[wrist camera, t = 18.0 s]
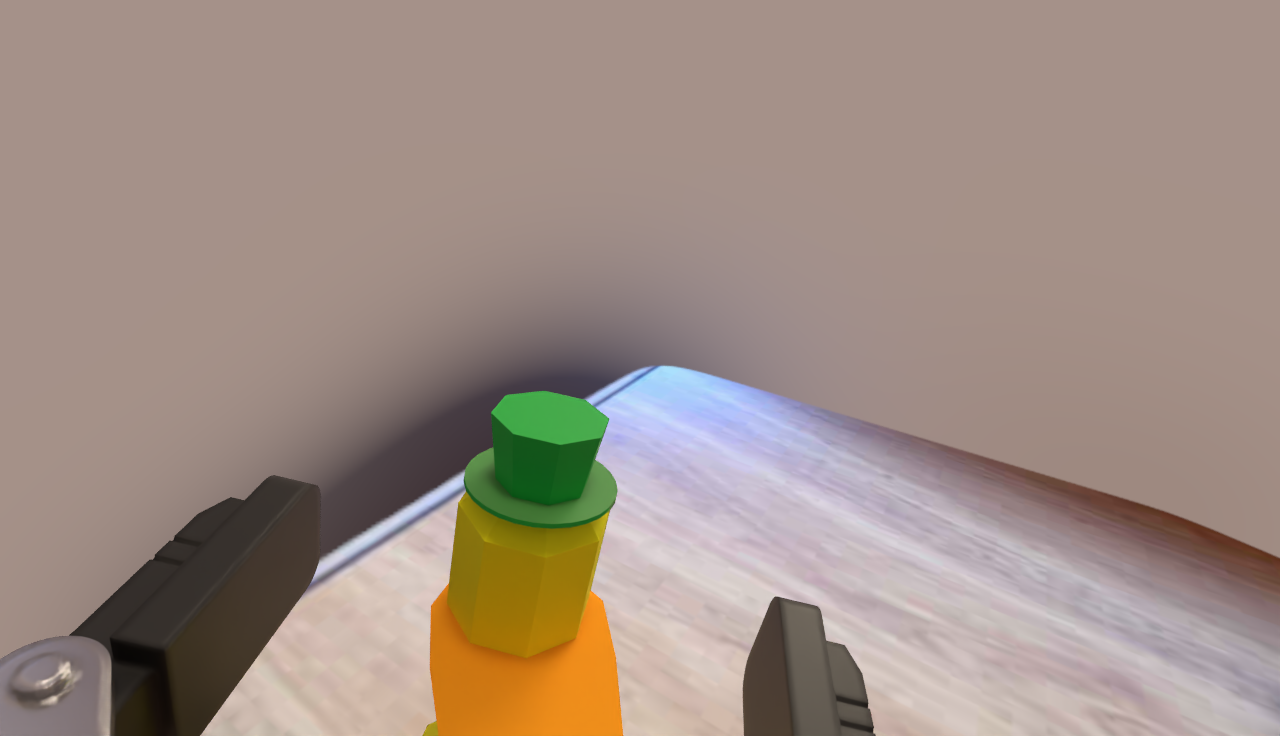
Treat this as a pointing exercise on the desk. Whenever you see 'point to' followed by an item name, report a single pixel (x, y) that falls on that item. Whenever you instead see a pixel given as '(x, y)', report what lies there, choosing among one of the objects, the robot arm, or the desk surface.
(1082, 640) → the desk surface
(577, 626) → the toy figure
